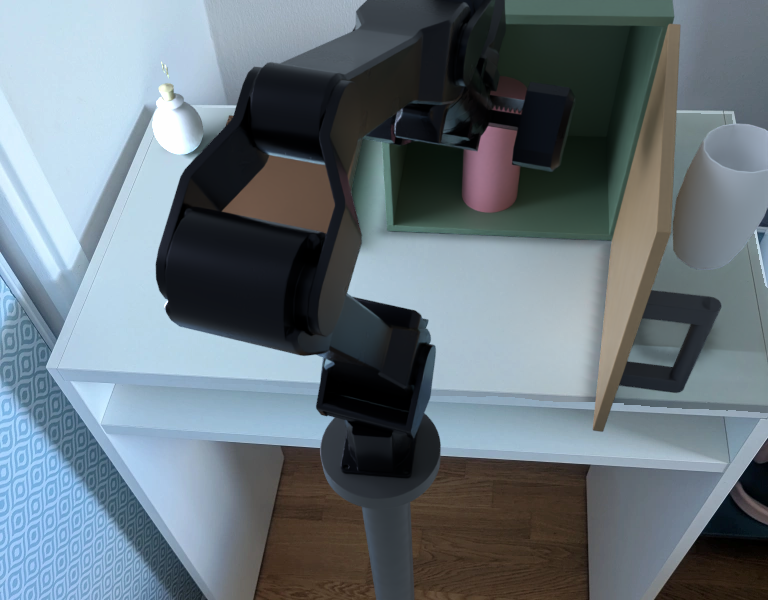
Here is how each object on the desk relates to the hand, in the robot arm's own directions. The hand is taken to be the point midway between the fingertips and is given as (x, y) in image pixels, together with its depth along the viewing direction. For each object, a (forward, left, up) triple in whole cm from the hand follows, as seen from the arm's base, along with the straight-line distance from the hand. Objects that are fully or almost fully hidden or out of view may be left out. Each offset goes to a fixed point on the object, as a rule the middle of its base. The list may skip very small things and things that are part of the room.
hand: (475, 136), depth 74 cm
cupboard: (+11, -3, -13) cm, 17 cm away
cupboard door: (-12, -18, -13) cm, 25 cm away
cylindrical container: (+8, -2, -13) cm, 15 cm away
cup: (-11, -21, -14) cm, 28 cm away
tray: (+9, +23, -13) cm, 28 cm away
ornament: (+16, +37, -14) cm, 43 cm away
